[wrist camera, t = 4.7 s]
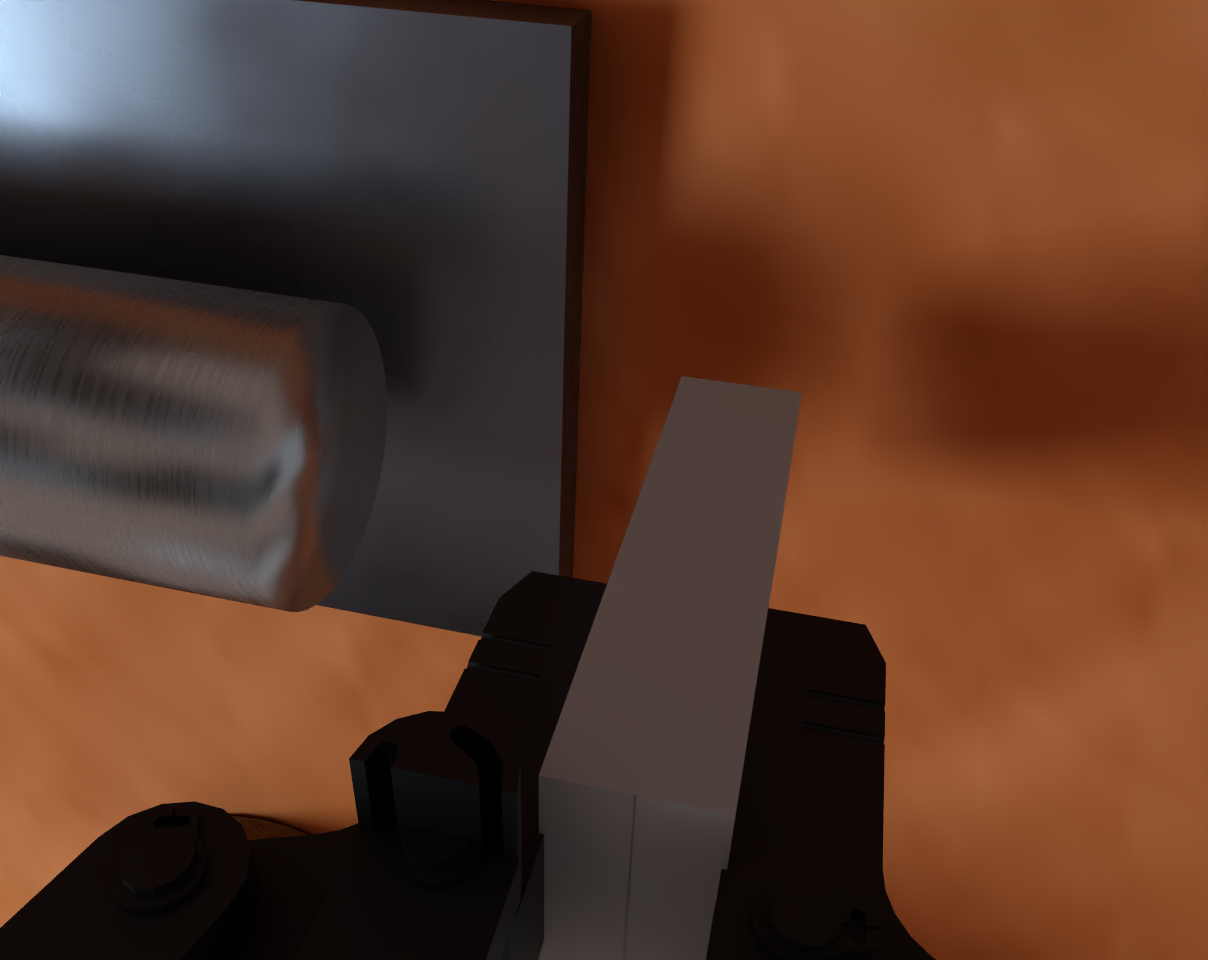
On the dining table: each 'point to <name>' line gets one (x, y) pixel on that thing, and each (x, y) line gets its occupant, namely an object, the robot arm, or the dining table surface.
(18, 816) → the dining table surface
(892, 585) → the dining table surface
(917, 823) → the dining table surface
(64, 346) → the tube
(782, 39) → the dining table surface
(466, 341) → the collar rail
